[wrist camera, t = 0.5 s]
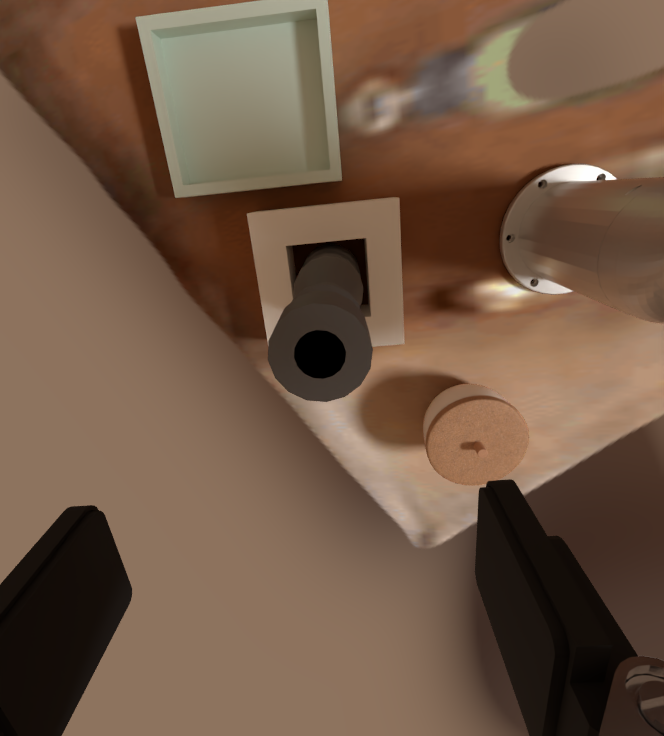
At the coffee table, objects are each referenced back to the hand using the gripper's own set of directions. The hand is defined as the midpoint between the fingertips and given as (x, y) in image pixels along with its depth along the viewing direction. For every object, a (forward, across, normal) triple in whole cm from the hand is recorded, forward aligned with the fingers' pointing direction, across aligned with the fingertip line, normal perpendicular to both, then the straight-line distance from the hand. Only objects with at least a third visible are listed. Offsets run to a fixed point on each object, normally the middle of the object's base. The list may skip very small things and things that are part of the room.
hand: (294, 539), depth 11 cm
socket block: (+38, 0, 0) cm, 38 cm away
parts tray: (+38, +6, -16) cm, 42 cm away
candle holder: (+38, 0, 0) cm, 38 cm away
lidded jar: (+38, -14, +18) cm, 45 cm away
